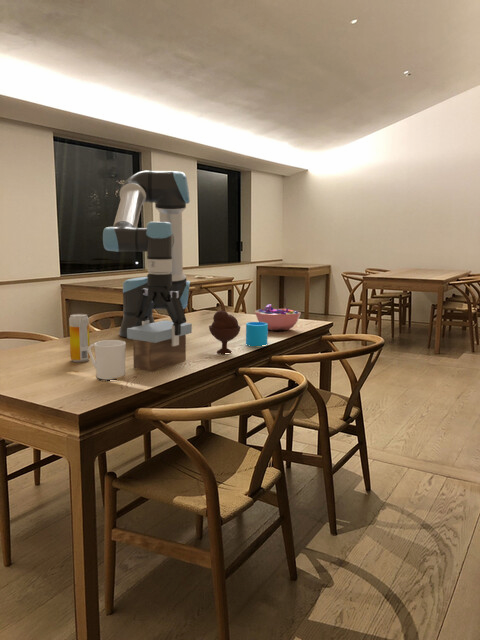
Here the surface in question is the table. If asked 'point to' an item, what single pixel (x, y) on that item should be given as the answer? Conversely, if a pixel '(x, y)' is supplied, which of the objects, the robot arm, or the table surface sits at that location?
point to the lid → (156, 331)
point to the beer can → (79, 337)
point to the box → (158, 354)
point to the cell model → (277, 318)
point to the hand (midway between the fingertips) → (160, 343)
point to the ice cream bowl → (224, 329)
